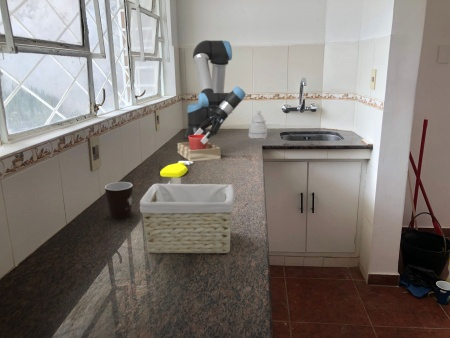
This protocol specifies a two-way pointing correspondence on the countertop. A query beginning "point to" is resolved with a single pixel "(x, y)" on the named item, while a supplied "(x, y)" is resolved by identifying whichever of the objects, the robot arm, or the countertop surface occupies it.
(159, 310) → the countertop surface
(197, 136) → the flower pot
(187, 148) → the pine crate
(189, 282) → the countertop surface
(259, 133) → the honey pot
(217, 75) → the robot arm
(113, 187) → the coffee mug
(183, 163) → the spray bottle
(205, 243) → the storage basket
